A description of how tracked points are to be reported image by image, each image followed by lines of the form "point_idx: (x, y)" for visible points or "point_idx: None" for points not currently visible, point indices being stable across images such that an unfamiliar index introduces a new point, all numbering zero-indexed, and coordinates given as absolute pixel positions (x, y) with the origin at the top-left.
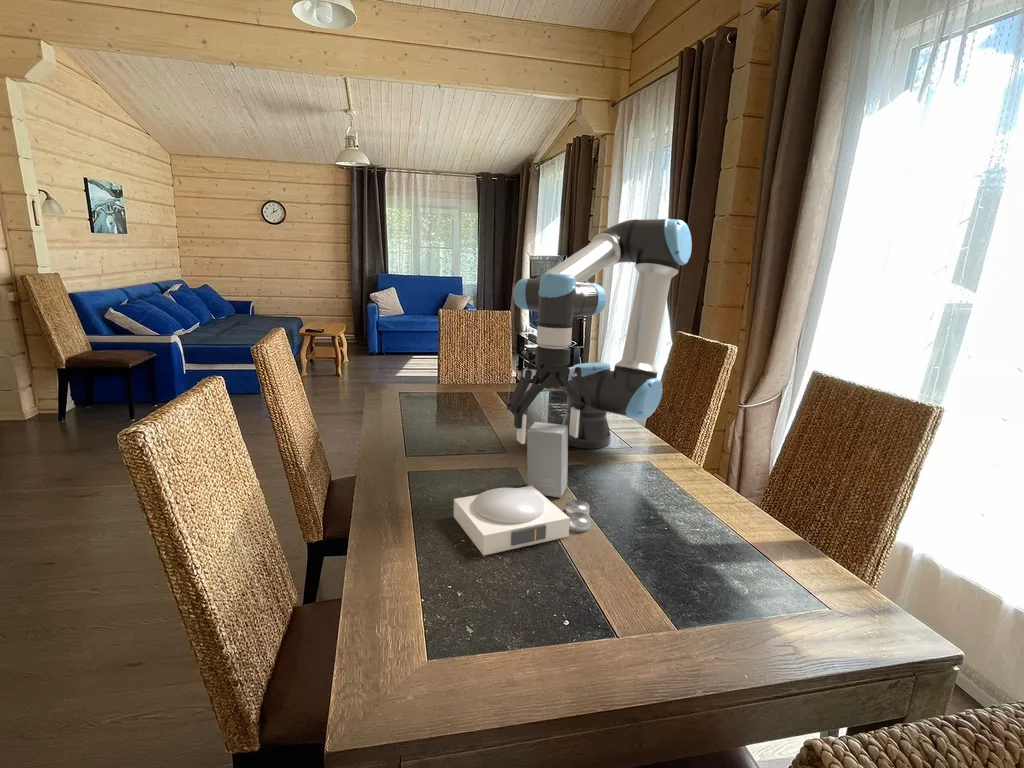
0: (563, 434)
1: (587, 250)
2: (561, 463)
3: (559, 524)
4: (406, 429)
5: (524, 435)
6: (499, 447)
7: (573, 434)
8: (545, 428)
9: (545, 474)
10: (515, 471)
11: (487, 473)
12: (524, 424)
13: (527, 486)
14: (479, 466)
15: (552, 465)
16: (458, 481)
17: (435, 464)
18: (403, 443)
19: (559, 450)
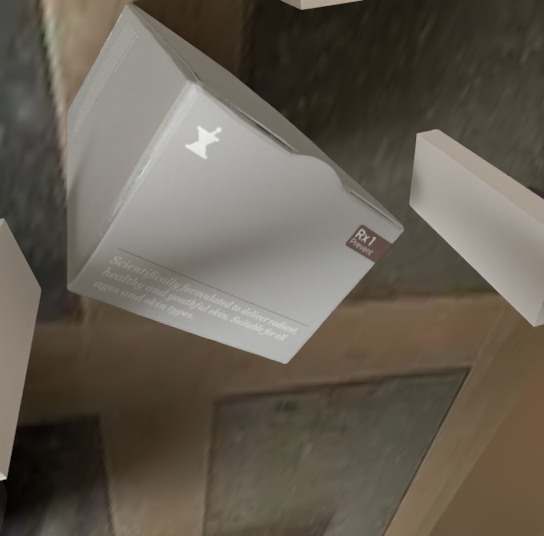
0: (157, 121)
1: None
2: (150, 32)
3: None
4: (402, 487)
5: (455, 156)
6: (226, 429)
7: (12, 252)
8: (281, 238)
9: (220, 67)
10: None
11: None
12: (518, 192)
13: (324, 4)
14: (331, 315)
15: (200, 56)
16: None
17: (433, 328)
18: (441, 427)
19: (182, 53)
